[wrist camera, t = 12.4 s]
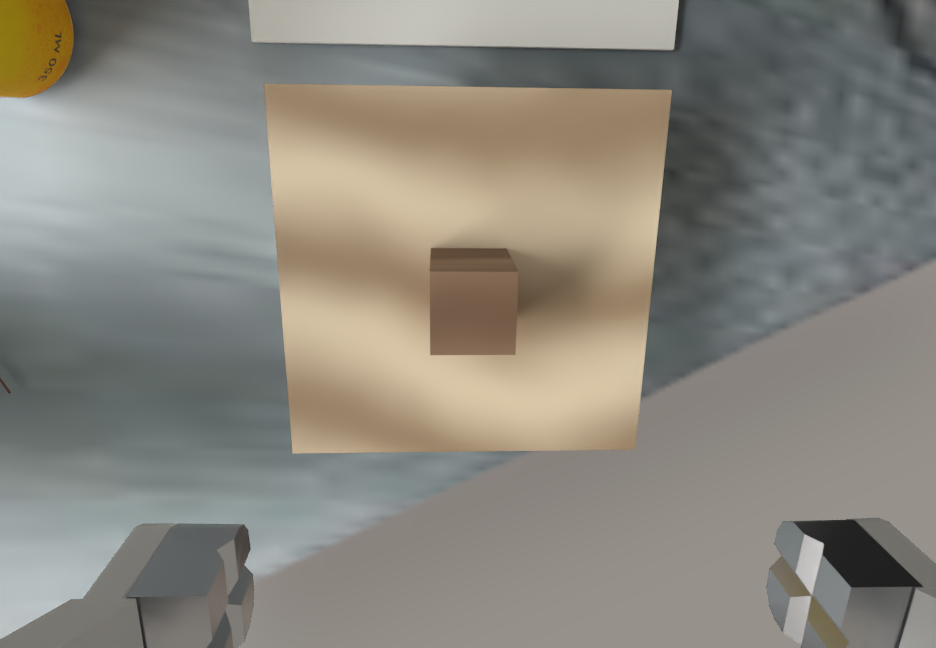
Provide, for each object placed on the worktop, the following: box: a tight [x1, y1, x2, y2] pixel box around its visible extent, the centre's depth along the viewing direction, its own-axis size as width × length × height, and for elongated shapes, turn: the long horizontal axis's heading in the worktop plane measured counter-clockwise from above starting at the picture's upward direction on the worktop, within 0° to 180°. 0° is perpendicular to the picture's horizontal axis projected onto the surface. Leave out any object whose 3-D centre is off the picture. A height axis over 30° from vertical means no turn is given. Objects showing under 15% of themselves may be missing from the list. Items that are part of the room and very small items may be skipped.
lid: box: [264, 84, 672, 453], centre depth 25 cm, size 15×15×5 cm
